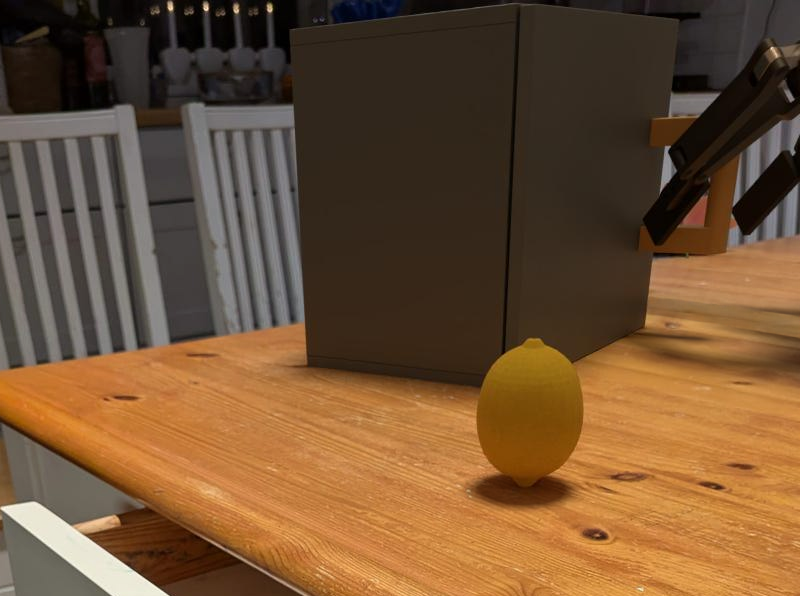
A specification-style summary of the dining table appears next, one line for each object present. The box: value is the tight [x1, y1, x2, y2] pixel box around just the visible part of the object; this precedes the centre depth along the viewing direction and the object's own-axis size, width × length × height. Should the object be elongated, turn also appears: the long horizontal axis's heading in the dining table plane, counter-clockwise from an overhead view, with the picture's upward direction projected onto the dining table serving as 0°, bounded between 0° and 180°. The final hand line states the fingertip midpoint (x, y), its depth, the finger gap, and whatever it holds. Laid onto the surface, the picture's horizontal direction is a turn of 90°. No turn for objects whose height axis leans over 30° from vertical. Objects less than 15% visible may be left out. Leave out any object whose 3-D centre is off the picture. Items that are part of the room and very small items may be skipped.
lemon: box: [475, 338, 585, 489], centre depth 51 cm, size 6×6×8 cm
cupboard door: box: [505, 3, 742, 364], centre depth 71 cm, size 8×26×24 cm, turn 143°
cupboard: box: [289, 2, 529, 389], centre depth 79 cm, size 18×26×24 cm
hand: (697, 227), depth 80 cm, fingers open, 9 cm apart
